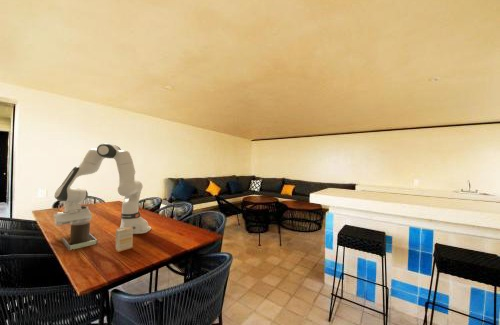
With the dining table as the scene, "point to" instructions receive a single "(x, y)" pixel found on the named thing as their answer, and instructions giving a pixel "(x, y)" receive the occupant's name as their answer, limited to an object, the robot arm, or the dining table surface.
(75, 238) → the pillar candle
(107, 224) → the dining table surface
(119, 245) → the supplement box
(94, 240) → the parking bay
